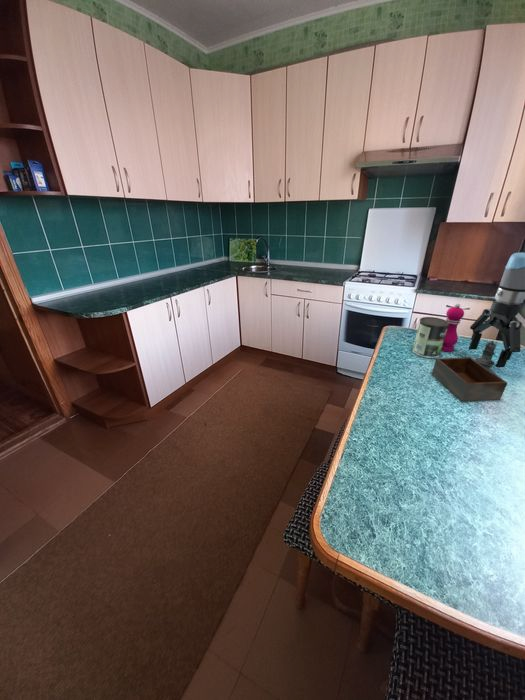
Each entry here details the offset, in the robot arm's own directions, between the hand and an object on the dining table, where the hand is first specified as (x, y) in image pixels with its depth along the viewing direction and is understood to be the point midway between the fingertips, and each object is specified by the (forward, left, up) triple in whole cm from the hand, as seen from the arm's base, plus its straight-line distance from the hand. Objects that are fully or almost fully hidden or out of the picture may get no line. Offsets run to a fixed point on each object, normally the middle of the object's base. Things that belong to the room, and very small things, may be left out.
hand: (485, 357), depth 106 cm
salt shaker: (0, 0, -5) cm, 5 cm away
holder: (+14, +10, -5) cm, 18 cm away
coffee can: (+13, -15, -5) cm, 20 cm away
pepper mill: (+3, -18, -5) cm, 19 cm away
